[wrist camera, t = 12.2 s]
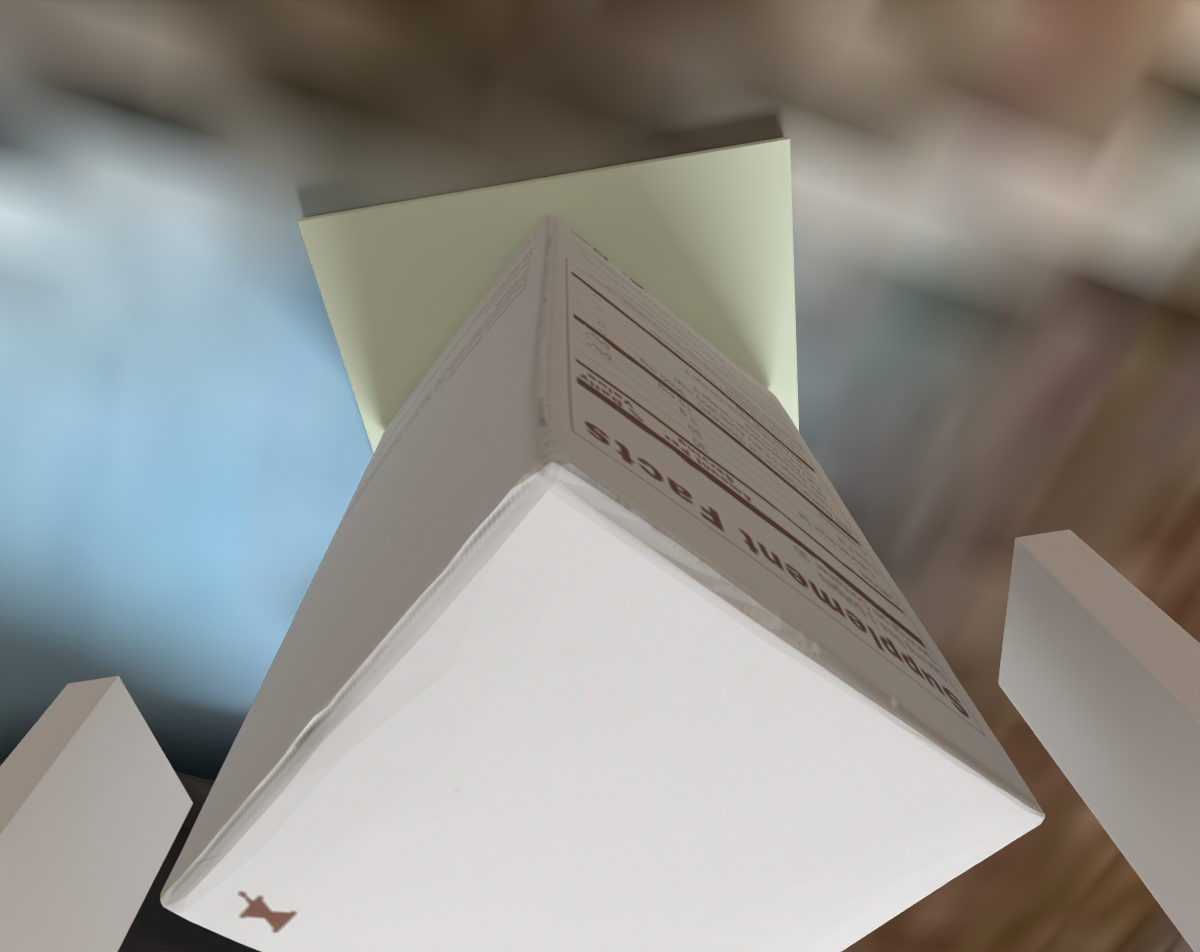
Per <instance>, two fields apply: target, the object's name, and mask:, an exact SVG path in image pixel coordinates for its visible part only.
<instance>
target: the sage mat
mask: <svg viewBox="0 0 1200 952" xmlns="http://www.w3.org/2000/svg"><path fill="white" fill-rule="evenodd" d="M548 215H554V216H555V217H557V218H558V219H559V220H561V221H562V222H563V223H564V224H566V225H567V226H568V227H569V228H571V229H572V230H573V231H574V232H576V233H577V234H578V235H579V236H581V237H582V238H583V239H584V240H585V241H587V242H588V243H589V244H590V245H592V246H593V247H594V248H595V249H597V250H598V251H599V252H600V253H601V254H603V255H604V256H605V257H606V258H608V259H609V260H610V261H611V262H612V263H614V264H615V265H616V266H617V267H618V268H620V269H621V270H622V271H623V272H625V273H626V274H627V275H628V276H629V277H631V278H632V279H633V280H634V281H636V282H637V283H638V284H639V285H640V286H642V287H643V288H644V289H645V290H646V291H648V292H649V293H650V294H651V295H653V296H654V297H655V298H656V299H657V300H659V301H660V302H661V303H662V304H663V305H665V306H666V307H667V308H668V309H670V310H671V311H672V312H673V313H674V314H676V315H677V316H678V317H679V318H680V319H682V320H683V321H684V322H685V323H687V324H688V325H689V326H690V327H691V328H693V329H694V330H695V331H696V332H697V333H699V334H700V335H701V336H702V337H704V338H705V339H706V340H707V341H708V342H710V343H711V344H712V345H713V346H715V347H716V348H717V349H718V350H719V351H721V352H722V353H723V354H724V355H726V356H727V357H728V358H729V359H730V360H732V361H733V362H734V363H735V364H737V365H738V366H739V367H740V368H742V369H743V370H744V371H745V372H747V373H748V374H749V375H750V376H752V377H753V378H754V379H755V380H756V381H758V382H759V383H760V384H761V385H763V386H764V387H765V388H767V389H768V390H769V391H771V392H772V393H773V394H774V395H775V396H776V397H777V399H778V400H779V402H780V403H781V405H782V406H783V408H784V409H785V411H786V412H787V413H788V415H789V417H790V418H791V420H792V421H793V423H794V425H795V426H796V428H797V430H798V431H799V419H798V386H797V354H796V321H795V288H794V255H793V222H792V190H791V157H790V139H789V138H786V137H781V138H775V139H769V140H764V141H758V142H752V143H746V144H740V145H734V146H728V147H722V148H716V149H710V150H704V151H698V152H692V153H686V154H680V155H674V156H668V157H663V158H657V159H651V160H645V161H639V162H633V163H627V164H621V165H615V166H609V167H603V168H597V169H591V170H585V171H579V172H573V173H567V174H561V175H556V176H550V177H544V178H538V179H532V180H526V181H520V182H514V183H508V184H502V185H496V186H490V187H484V188H478V189H472V190H466V191H460V192H455V193H449V194H443V195H437V196H431V197H425V198H419V199H413V200H407V201H401V202H395V203H389V204H383V205H377V206H371V207H365V208H359V209H353V210H348V211H342V212H336V213H330V214H324V215H318V216H312V217H306V218H303V219H301V220H299V221H298V222H297V223H298V226H299V229H300V232H301V235H302V238H303V241H304V244H305V247H306V250H307V253H308V256H309V259H310V262H311V265H312V268H313V271H314V274H315V277H316V280H317V283H318V286H319V289H320V292H321V295H322V299H323V302H324V305H325V308H326V311H327V314H328V317H329V320H330V323H331V326H332V329H333V332H334V335H335V338H336V341H337V344H338V347H339V350H340V353H341V356H342V359H343V362H344V365H345V368H346V371H347V374H348V377H349V380H350V383H351V386H352V389H353V392H354V395H355V398H356V401H357V404H358V407H359V410H360V413H361V416H362V419H363V422H364V425H365V428H366V431H367V434H368V437H369V441H370V444H371V447H372V450H373V453H374V452H375V450H376V448H377V446H378V444H379V442H380V440H381V437H382V434H383V432H384V431H385V430H386V429H387V427H388V426H389V425H390V423H391V422H392V420H393V419H394V418H395V416H396V415H397V413H398V412H399V410H400V409H401V408H402V406H403V405H404V404H405V402H406V401H407V399H408V398H409V397H410V395H411V394H412V393H413V391H414V390H415V388H416V387H417V386H418V384H419V383H420V382H421V380H422V379H423V377H424V376H425V375H426V373H427V372H428V371H429V369H430V368H431V366H432V365H433V364H434V362H435V361H436V359H437V358H438V357H439V355H440V354H441V353H442V351H443V350H444V348H445V347H446V346H447V344H448V343H449V342H450V340H451V339H452V337H453V336H454V335H455V333H456V332H457V331H458V329H459V328H460V327H461V326H462V324H463V323H464V322H465V320H466V319H467V318H468V316H469V315H470V314H471V313H472V311H473V310H474V309H475V307H476V306H477V305H478V303H479V302H480V301H481V299H482V298H483V297H484V295H485V294H486V293H487V292H488V290H489V289H490V288H491V286H492V285H493V284H494V282H495V281H496V280H497V278H498V277H499V276H500V274H501V273H502V272H503V270H504V269H505V268H506V267H507V265H508V264H509V263H510V261H511V260H512V259H513V257H514V256H515V255H516V254H517V252H518V251H519V250H520V249H521V247H522V246H523V245H524V244H525V242H526V241H527V240H528V238H529V237H530V236H531V235H532V233H533V232H534V231H535V230H536V228H537V227H538V226H539V225H540V224H541V222H542V221H543V220H544V219H545V218H546V217H547V216H548Z"/></svg>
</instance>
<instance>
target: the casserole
mask: <svg viewBox="0 0 1200 952" xmlns="http://www.w3.org/2000/svg"><path fill="white" fill-rule="evenodd" d="M6 759H7V758H3V759H0V766H1V765H2V764H3V762H4V761H5V760H6ZM175 773H176V775H177V776H178V778H179V780H180V782H181V783H182V785H183V787H184V788H185V790H186V792H187V794H188V795H189V797H190V799H191V800H192V802H193V804H192V806H191V808H190V810H189V812H188V814H187V816H186V818H185V820H184V822H183V824H182V826H181V828H180V830H179V832H178V834H177V836H176V838H175V840H174V842H173V844H172V846H171V848H170V850H169V852H168V854H167V856H166V858H165V859H164V861H163V863H162V865H161V867H160V869H159V871H158V873H157V875H156V877H155V879H154V881H153V883H152V885H151V887H150V889H149V891H148V893H147V895H146V897H145V899H144V901H143V903H142V905H141V907H140V909H139V911H138V913H137V914H136V916H135V918H134V920H133V922H132V924H131V926H130V928H129V930H128V932H127V934H126V936H125V938H124V940H123V942H122V944H121V946H120V948H119V950H118V952H261V951H258V950H256V949H253V948H251V947H248V946H246V945H243V944H241V943H238V942H236V941H234V940H231V939H229V938H227V937H225V936H222V935H220V934H218V933H216V932H213V931H211V930H209V929H207V928H204V927H202V926H200V925H198V924H195V923H193V922H191V921H189V920H187V919H185V918H183V917H181V916H179V915H177V914H176V913H174V912H172V911H170V910H168V909H166V908H165V907H163V906H162V904H161V901H160V895H161V891H162V889H163V887H164V885H165V883H166V881H167V879H168V877H169V875H170V873H171V871H172V869H173V867H174V865H175V863H176V861H177V859H178V858H179V856H180V854H181V851H182V849H183V847H184V845H185V843H186V841H187V839H188V837H189V835H190V832H191V830H192V828H193V826H194V824H195V822H196V820H197V818H198V815H199V813H200V811H201V809H202V807H203V805H204V803H205V801H206V799H207V797H208V795H209V793H210V790H211V788H212V786H213V784H214V782H215V781H214V780H209V779H205V778H201V777H197V776H192V775H188V774H183V773H179V772H175Z"/></svg>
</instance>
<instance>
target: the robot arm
mask: <svg viewBox="0 0 1200 952" xmlns="http://www.w3.org/2000/svg"><path fill="white" fill-rule="evenodd" d="M998 684H999V685H1000V687H1001V688H1002V690H1003V691H1004V692H1005V694H1006V695H1007V696H1008V698H1009V699H1010V701H1011V702H1012V703H1013V705H1014V706H1015V707H1016V709H1017V710H1018V711H1019V713H1020V714H1021V716H1022V717H1023V718H1024V720H1025V721H1026V722H1027V724H1028V725H1029V727H1030V728H1031V729H1032V731H1033V732H1034V733H1035V735H1036V736H1037V737H1038V739H1039V740H1040V742H1041V743H1042V744H1043V746H1044V747H1045V748H1046V750H1047V751H1048V753H1049V754H1050V755H1051V757H1052V758H1053V759H1054V761H1055V762H1056V763H1057V765H1058V766H1059V768H1060V769H1061V770H1062V772H1063V773H1064V774H1065V776H1066V777H1067V779H1068V780H1069V781H1070V783H1071V784H1072V785H1073V787H1074V788H1075V789H1076V791H1077V792H1078V794H1079V795H1080V796H1081V798H1082V799H1083V800H1084V802H1085V803H1086V805H1087V806H1088V807H1089V809H1090V810H1091V811H1092V813H1093V814H1094V815H1095V817H1096V818H1097V820H1098V821H1099V822H1100V824H1101V825H1102V826H1103V828H1104V829H1105V831H1106V832H1107V833H1108V835H1109V836H1110V837H1111V839H1112V840H1113V841H1114V843H1115V844H1116V846H1117V847H1118V848H1119V850H1120V851H1121V852H1122V854H1123V855H1124V857H1125V858H1126V859H1127V861H1128V862H1129V863H1130V865H1131V866H1132V867H1133V869H1134V870H1135V872H1136V873H1137V874H1138V876H1139V877H1140V878H1141V880H1142V881H1143V883H1144V884H1145V885H1146V887H1147V888H1148V889H1149V891H1150V892H1151V893H1152V895H1153V896H1154V898H1155V899H1156V900H1157V902H1158V903H1159V904H1160V906H1161V907H1162V909H1163V910H1164V911H1165V913H1166V914H1167V915H1168V917H1169V918H1170V919H1171V921H1172V922H1173V924H1174V925H1175V926H1176V928H1177V929H1178V930H1179V932H1180V933H1181V935H1182V936H1183V937H1184V939H1185V940H1186V941H1187V943H1188V944H1189V945H1190V947H1191V948H1192V950H1193V951H1194V952H1200V643H1199V642H1197V641H1196V640H1195V639H1194V638H1193V637H1192V636H1191V635H1189V634H1188V633H1187V632H1186V631H1185V630H1184V629H1183V628H1181V627H1180V626H1179V625H1178V624H1177V623H1176V622H1175V621H1173V620H1172V619H1171V618H1170V617H1169V616H1168V615H1167V614H1165V613H1164V612H1163V611H1162V610H1161V609H1160V608H1159V607H1157V606H1156V605H1155V604H1154V603H1153V602H1152V601H1151V600H1149V599H1148V598H1147V597H1146V596H1145V595H1144V594H1143V593H1141V592H1140V591H1139V590H1138V589H1137V588H1136V587H1135V586H1133V585H1132V584H1131V583H1130V582H1129V581H1128V580H1127V579H1125V578H1124V577H1123V576H1122V575H1121V574H1120V573H1119V572H1117V571H1116V570H1115V569H1114V568H1113V567H1112V566H1111V565H1109V564H1108V563H1107V562H1106V561H1105V560H1104V559H1103V558H1101V557H1100V556H1099V555H1098V554H1097V553H1096V552H1095V551H1093V550H1092V549H1091V548H1090V547H1089V546H1088V545H1087V544H1085V543H1084V542H1083V541H1082V540H1081V539H1080V538H1079V537H1077V536H1076V535H1075V534H1074V533H1073V532H1072V531H1071V530H1063V531H1057V532H1050V533H1044V534H1037V535H1031V536H1024V537H1018V538H1015V544H1014V553H1013V562H1012V570H1011V579H1010V587H1009V596H1008V604H1007V613H1006V621H1005V630H1004V638H1003V647H1002V655H1001V664H1000V673H999V681H998ZM192 804H193V802H192V800H191V799H190V797H189V795H188V794H187V792H186V790H185V788H184V787H183V785H182V783H181V782H180V780H179V778H178V776H177V775H176V773H175V771H174V770H173V768H172V766H171V764H170V763H169V761H168V759H167V758H166V756H165V754H164V752H163V751H162V749H161V747H160V746H159V744H158V742H157V740H156V739H155V737H154V735H153V734H152V732H151V730H150V728H149V727H148V725H147V723H146V722H145V720H144V718H143V716H142V715H141V713H140V711H139V710H138V708H137V706H136V704H135V703H134V701H133V699H132V698H131V696H130V694H129V692H128V691H127V689H126V687H125V686H124V684H123V682H122V681H121V679H120V677H119V676H113V677H107V678H100V679H94V680H87V681H81V682H74V683H68V684H67V686H66V687H65V688H64V689H63V690H62V692H61V693H60V694H59V695H58V696H57V698H56V699H55V700H54V701H53V703H52V704H51V705H50V706H49V707H48V709H47V710H46V711H45V712H44V714H43V715H42V716H41V717H40V718H39V720H38V721H37V722H36V723H35V725H34V726H33V727H32V728H31V729H30V731H29V732H28V733H27V734H26V736H25V737H24V738H23V739H22V740H21V742H20V743H19V744H18V745H17V747H16V748H15V749H14V750H13V751H12V753H11V754H10V755H9V756H8V758H7V759H6V760H5V761H4V762H3V764H2V765H1V766H0V952H118V950H119V948H120V946H121V944H122V942H123V940H124V938H125V936H126V934H127V932H128V930H129V928H130V926H131V924H132V922H133V920H134V918H135V916H136V914H137V913H138V911H139V909H140V907H141V905H142V903H143V901H144V899H145V897H146V895H147V893H148V891H149V889H150V887H151V885H152V883H153V881H154V879H155V877H156V875H157V873H158V871H159V869H160V867H161V865H162V863H163V861H164V859H165V858H166V856H167V854H168V852H169V850H170V848H171V846H172V844H173V842H174V840H175V838H176V836H177V834H178V832H179V830H180V828H181V826H182V824H183V822H184V820H185V818H186V816H187V814H188V812H189V810H190V808H191V806H192Z"/></svg>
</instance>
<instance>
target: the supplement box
mask: <svg viewBox="0 0 1200 952" xmlns="http://www.w3.org/2000/svg"><path fill="white" fill-rule="evenodd" d="M1044 818H1045V814H1044V813H1043V811H1042V809H1041V808H1040V806H1039V805H1038V803H1037V801H1036V800H1035V798H1034V796H1033V795H1032V793H1031V791H1030V790H1029V788H1028V787H1027V785H1026V784H1025V782H1024V780H1023V779H1022V777H1021V776H1020V774H1019V773H1018V771H1017V770H1016V768H1015V766H1014V765H1013V763H1012V762H1011V760H1010V759H1009V757H1008V755H1007V754H1006V752H1005V751H1004V749H1003V748H1002V746H1001V745H1000V743H999V742H998V740H997V739H996V737H995V736H994V734H993V733H992V731H991V730H990V728H989V727H988V725H987V724H986V722H985V721H984V719H983V717H982V716H981V714H980V713H979V711H978V710H977V708H976V707H975V705H974V704H973V702H972V700H971V699H970V697H969V696H968V694H967V693H966V691H965V690H964V688H963V687H962V685H961V684H960V682H959V681H958V679H957V678H956V676H955V675H954V673H953V672H952V670H951V668H950V667H949V665H948V663H947V662H946V660H945V658H944V657H943V655H942V654H941V652H940V651H939V649H938V648H937V646H936V644H935V643H934V641H933V640H932V638H931V637H930V635H929V634H928V632H927V631H926V629H925V628H924V626H923V625H922V623H921V622H920V620H919V619H918V617H917V616H916V614H915V613H914V611H913V609H912V608H911V606H910V605H909V603H908V602H907V600H906V599H905V597H904V596H903V594H902V593H901V591H900V590H899V588H898V587H897V585H896V584H895V582H894V581H893V579H892V578H891V576H890V575H889V573H888V572H887V570H886V569H885V567H884V566H883V564H882V563H881V561H880V560H879V558H878V557H877V555H876V554H875V552H874V551H873V549H872V548H871V546H870V544H869V543H868V541H867V540H866V538H865V536H864V535H863V533H862V531H861V530H860V528H859V527H858V525H857V524H856V522H855V520H854V519H853V517H852V516H851V514H850V513H849V511H848V510H847V508H846V506H845V505H844V503H843V502H842V500H841V498H840V497H839V495H838V493H837V492H836V490H835V488H834V487H833V485H832V484H831V482H830V481H829V479H828V478H827V476H826V475H825V473H824V472H823V469H822V467H821V466H820V465H819V463H818V462H817V460H816V459H815V457H814V456H813V454H812V452H811V451H810V449H809V448H808V446H807V444H806V443H805V441H804V440H803V438H802V436H801V435H800V433H799V431H798V430H797V428H796V426H795V425H794V423H793V421H792V420H791V418H790V417H789V415H788V413H787V412H786V411H785V409H784V408H783V406H782V405H781V403H780V402H779V400H778V399H777V397H776V396H775V395H774V394H773V393H772V392H771V391H769V390H768V389H767V388H765V387H764V386H763V385H761V384H760V383H759V382H758V381H756V380H755V379H754V378H753V377H752V376H750V375H749V374H748V373H747V372H745V371H744V370H743V369H742V368H740V367H739V366H738V365H737V364H735V363H734V362H733V361H732V360H730V359H729V358H728V357H727V356H726V355H724V354H723V353H722V352H721V351H719V350H718V349H717V348H716V347H715V346H713V345H712V344H711V343H710V342H708V341H707V340H706V339H705V338H704V337H702V336H701V335H700V334H699V333H697V332H696V331H695V330H694V329H693V328H691V327H690V326H689V325H688V324H687V323H685V322H684V321H683V320H682V319H680V318H679V317H678V316H677V315H676V314H674V313H673V312H672V311H671V310H670V309H668V308H667V307H666V306H665V305H663V304H662V303H661V302H660V301H659V300H657V299H656V298H655V297H654V296H653V295H651V294H650V293H649V292H648V291H646V290H645V289H644V288H643V287H642V286H640V285H639V284H638V283H637V282H636V281H634V280H633V279H632V278H631V277H629V276H628V275H627V274H626V273H625V272H623V271H622V270H621V269H620V268H618V267H617V266H616V265H615V264H614V263H612V262H611V261H610V260H609V259H608V258H606V257H605V256H604V255H603V254H601V253H600V252H599V251H598V250H597V249H595V248H594V247H593V246H592V245H590V244H589V243H588V242H587V241H585V240H584V239H583V238H582V237H581V236H579V235H578V234H577V233H576V232H574V231H573V230H572V229H571V228H569V227H568V226H567V225H566V224H564V223H563V222H562V221H561V220H559V219H558V218H557V217H555V216H554V215H548V216H547V217H546V218H545V219H544V220H543V221H542V222H541V224H540V225H539V226H538V227H537V228H536V230H535V231H534V232H533V233H532V235H531V236H530V237H529V238H528V240H527V241H526V242H525V244H524V245H523V246H522V247H521V249H520V250H519V251H518V252H517V254H516V255H515V256H514V257H513V259H512V260H511V261H510V263H509V264H508V265H507V267H506V268H505V269H504V270H503V272H502V273H501V274H500V276H499V277H498V278H497V280H496V281H495V282H494V284H493V285H492V286H491V288H490V289H489V290H488V292H487V293H486V294H485V295H484V297H483V298H482V299H481V301H480V302H479V303H478V305H477V306H476V307H475V309H474V310H473V311H472V313H471V314H470V315H469V316H468V318H467V319H466V320H465V322H464V323H463V324H462V326H461V327H460V328H459V329H458V331H457V332H456V333H455V335H454V336H453V337H452V339H451V340H450V342H449V343H448V344H447V346H446V347H445V348H444V350H443V351H442V353H441V354H440V355H439V357H438V358H437V359H436V361H435V362H434V364H433V365H432V366H431V368H430V369H429V371H428V372H427V373H426V375H425V376H424V377H423V379H422V380H421V382H420V383H419V384H418V386H417V387H416V388H415V390H414V391H413V393H412V394H411V395H410V397H409V398H408V399H407V401H406V402H405V404H404V405H403V406H402V408H401V409H400V410H399V412H398V413H397V415H396V416H395V418H394V419H393V420H392V422H391V423H390V425H389V426H388V427H387V429H386V430H385V431H384V432H383V434H382V437H381V440H380V442H379V444H378V446H377V448H376V450H375V452H374V454H373V456H372V459H371V461H370V463H369V465H368V467H367V468H366V471H365V473H364V475H363V477H362V479H361V481H360V483H359V485H358V487H357V490H356V492H355V494H354V496H353V498H352V500H351V502H350V504H349V506H348V508H347V511H346V513H345V515H344V517H343V519H342V521H341V523H340V525H339V527H338V529H337V531H336V533H335V535H334V537H333V539H332V541H331V543H330V545H329V547H328V549H327V551H326V553H325V555H324V557H323V560H322V562H321V564H320V566H319V568H318V570H317V572H316V574H315V576H314V578H313V580H312V582H311V584H310V586H309V588H308V590H307V592H306V594H305V597H304V599H303V601H302V603H301V605H300V607H299V609H298V611H297V613H296V615H295V617H294V619H293V622H292V624H291V626H290V628H289V630H288V632H287V634H286V636H285V638H284V640H283V642H282V644H281V646H280V648H279V650H278V652H277V654H276V656H275V658H274V660H273V662H272V664H271V667H270V669H269V671H268V673H267V675H266V677H265V679H264V681H263V683H262V685H261V687H260V689H259V692H258V694H257V696H256V698H255V700H254V702H253V704H252V706H251V708H250V710H249V712H248V714H247V716H246V718H245V720H244V722H243V724H242V726H241V728H240V731H239V733H238V735H237V737H236V739H235V741H234V743H233V745H232V747H231V749H230V751H229V753H228V755H227V758H226V760H225V762H224V764H223V766H222V768H221V770H220V772H219V774H218V776H217V778H216V780H215V782H214V784H213V786H212V788H211V790H210V793H209V795H208V797H207V799H206V801H205V803H204V805H203V807H202V809H201V811H200V813H199V815H198V818H197V820H196V822H195V824H194V826H193V828H192V830H191V832H190V835H189V837H188V839H187V841H186V843H185V845H184V847H183V849H182V851H181V854H180V856H179V858H178V859H177V861H176V863H175V865H174V867H173V869H172V871H171V873H170V875H169V877H168V879H167V881H166V883H165V885H164V887H163V889H162V891H161V895H160V901H161V904H162V906H163V907H165V908H166V909H168V910H170V911H172V912H174V913H176V914H177V915H179V916H181V917H183V918H185V919H187V920H189V921H191V922H193V923H195V924H198V925H200V926H202V927H204V928H207V929H209V930H211V931H213V932H216V933H218V934H220V935H222V936H225V937H227V938H229V939H231V940H234V941H236V942H238V943H241V944H243V945H246V946H248V947H251V948H253V949H256V950H258V951H261V952H841V951H843V950H844V949H846V948H847V947H849V946H850V945H852V944H853V943H855V942H856V941H858V940H860V939H861V938H863V937H864V936H866V935H867V934H869V933H870V932H872V931H873V930H875V929H876V928H878V927H879V926H881V925H883V924H884V923H886V922H887V921H889V920H890V919H892V918H893V917H895V916H896V915H898V914H899V913H901V912H903V911H904V910H906V909H907V908H909V907H910V906H912V905H913V904H915V903H916V902H918V901H919V900H921V899H923V898H924V897H926V896H927V895H929V894H930V893H932V892H933V891H935V890H936V889H938V888H939V887H941V886H943V885H944V884H946V883H947V882H949V881H950V880H952V879H953V878H955V877H957V876H958V875H960V874H962V873H964V872H965V871H967V870H968V869H970V868H971V867H973V866H974V865H976V864H977V863H979V862H981V861H982V860H984V859H986V858H987V857H989V856H990V855H992V854H994V853H995V852H997V851H998V850H1000V849H1001V848H1003V847H1004V846H1006V845H1008V844H1009V843H1011V842H1012V841H1014V840H1015V839H1017V838H1019V837H1020V836H1022V835H1024V834H1025V833H1027V832H1029V831H1030V830H1032V829H1034V828H1035V827H1037V826H1038V825H1040V824H1041V823H1042V821H1043V820H1044Z"/></svg>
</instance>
